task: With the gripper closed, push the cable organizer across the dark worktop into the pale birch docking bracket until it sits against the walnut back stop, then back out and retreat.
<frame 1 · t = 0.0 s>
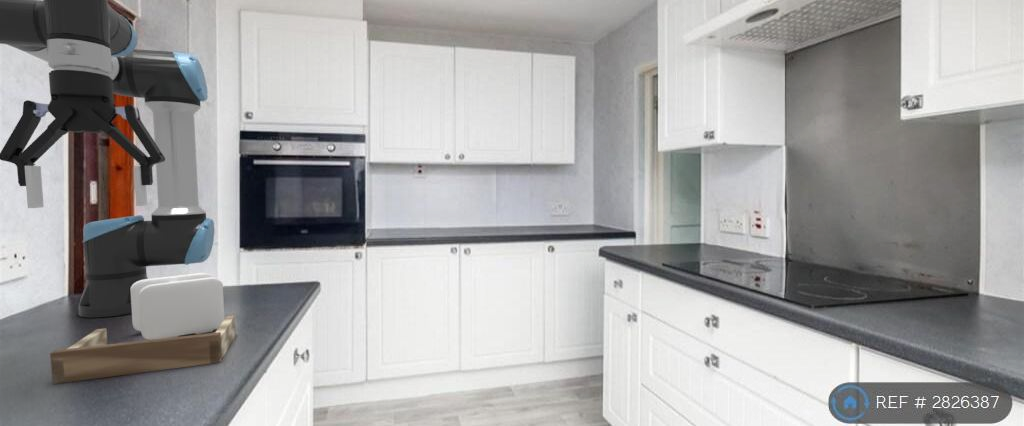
hand: (90, 206, 76), 28 cm above the countertop, tool pointing down, fingers open, 13 cm apart
docking bracket: (157, 355, 87), on the countertop
cable organizer: (179, 332, 101), on the countertop
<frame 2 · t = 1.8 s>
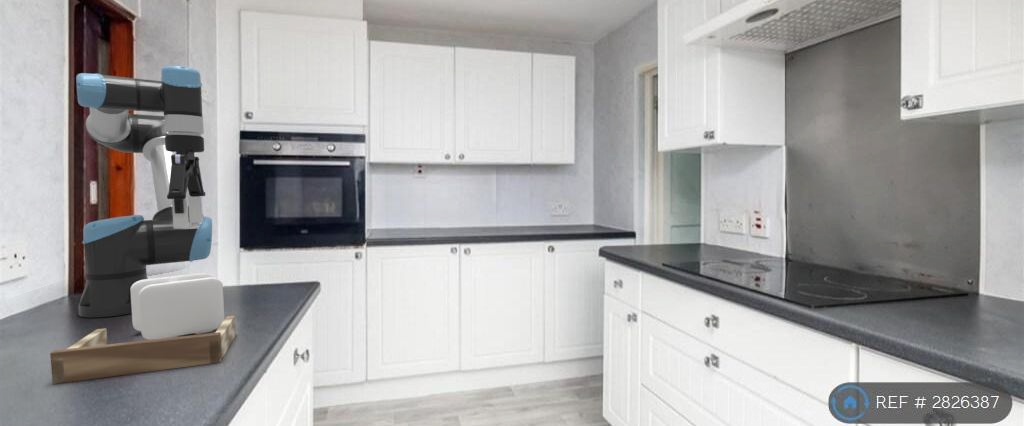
hand: (189, 225, 112), 22 cm above the countertop, tool pointing down, fingers open, 13 cm apart
nothing on the countertop moved.
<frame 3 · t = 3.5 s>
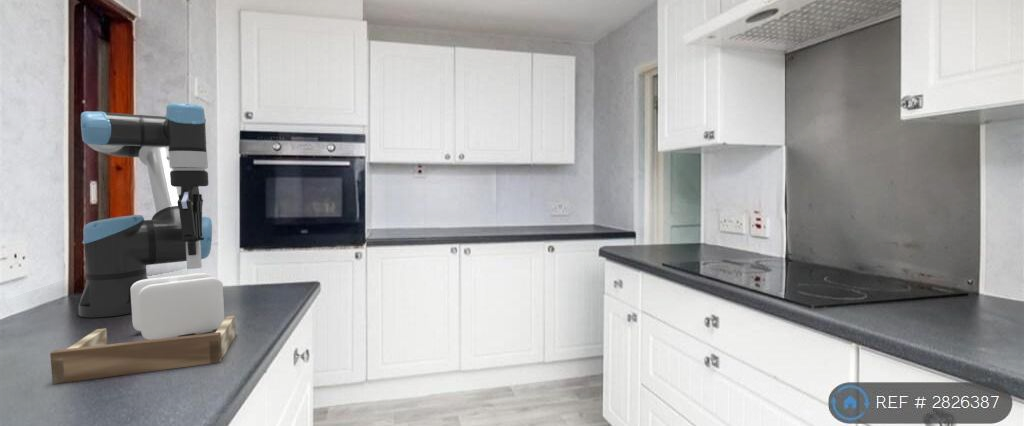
hand: (194, 268, 114), 11 cm above the countertop, tool pointing down, fingers closed
nothing on the countertop moved.
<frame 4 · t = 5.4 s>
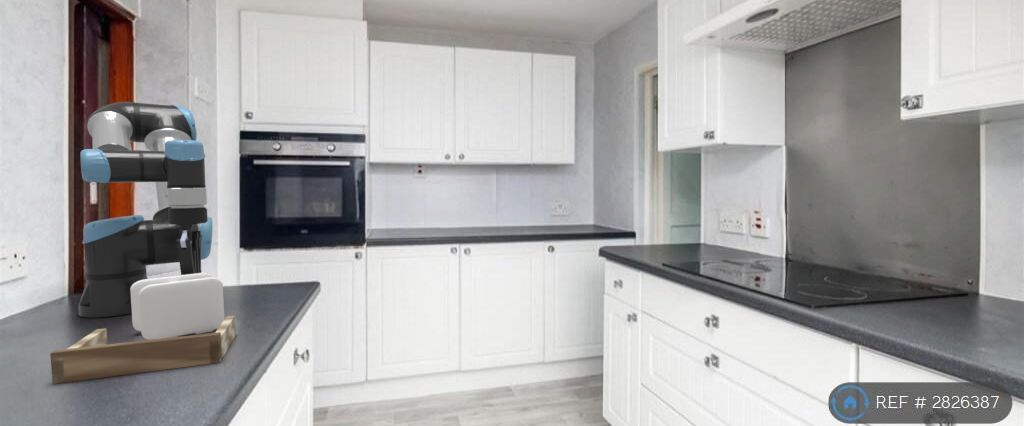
hand: (193, 306, 112), 3 cm above the countertop, tool pointing down, fingers closed
nothing on the countertop moved.
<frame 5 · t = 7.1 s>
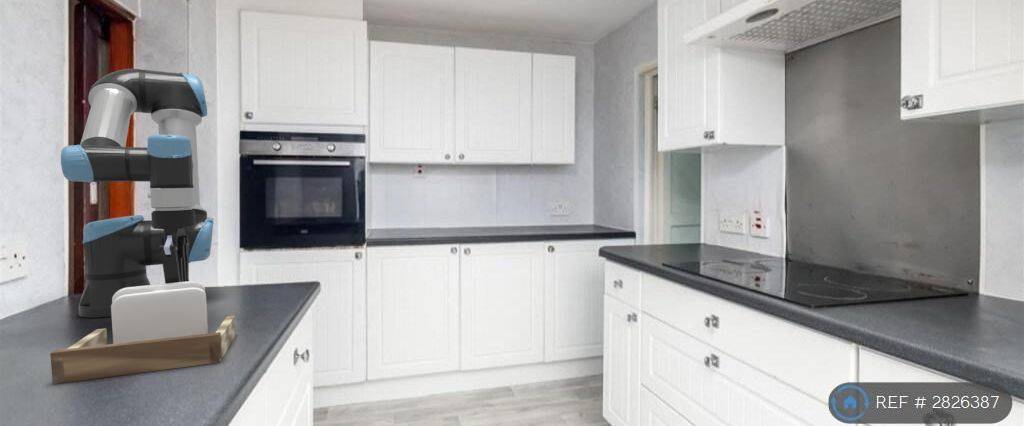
hand: (179, 319, 101), 3 cm above the countertop, tool pointing down, fingers closed
cable organizer: (162, 347, 92), on the countertop, touching hand
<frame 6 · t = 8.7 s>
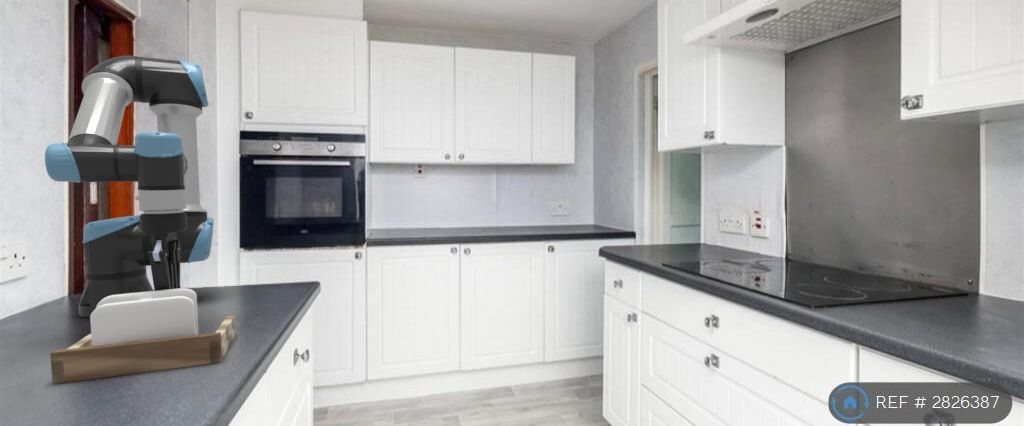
hand: (170, 328, 95), 3 cm above the countertop, tool pointing down, fingers closed
cable organizer: (149, 359, 86), on the countertop, touching docking bracket, hand
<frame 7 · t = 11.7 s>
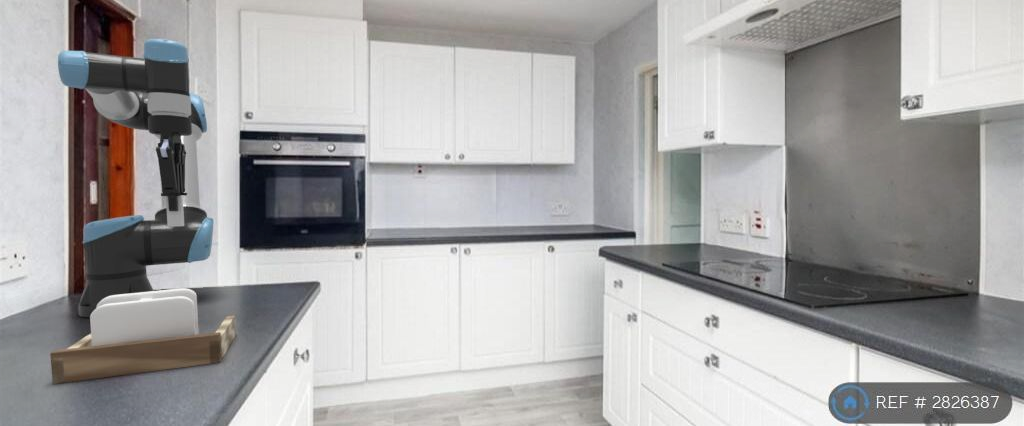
hand: (176, 226, 102), 22 cm above the countertop, tool pointing down, fingers closed
cable organizer: (149, 359, 86), on the countertop
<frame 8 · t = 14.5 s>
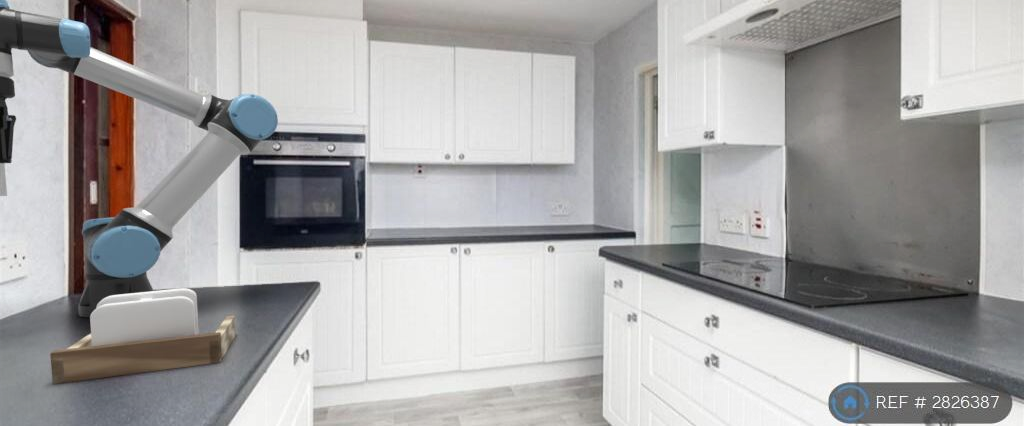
nothing on the countertop moved.
at the end: cable organizer inside the target area on the docking bracket (2.8 cm from its centre), point 0.0 cm above the docking bracket's base; cable organizer tilted 0°; cable organizer moved 16.1 cm from its start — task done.
